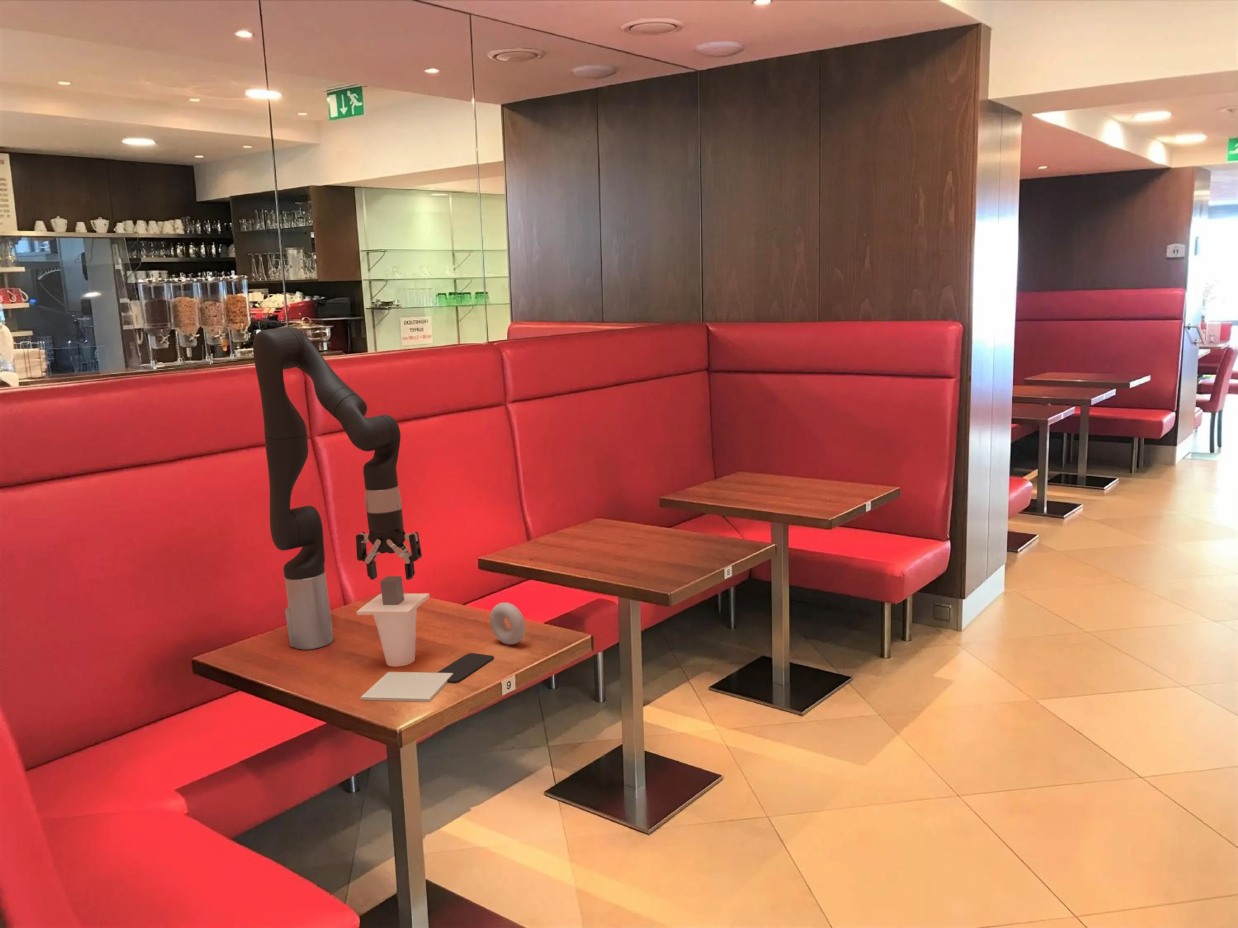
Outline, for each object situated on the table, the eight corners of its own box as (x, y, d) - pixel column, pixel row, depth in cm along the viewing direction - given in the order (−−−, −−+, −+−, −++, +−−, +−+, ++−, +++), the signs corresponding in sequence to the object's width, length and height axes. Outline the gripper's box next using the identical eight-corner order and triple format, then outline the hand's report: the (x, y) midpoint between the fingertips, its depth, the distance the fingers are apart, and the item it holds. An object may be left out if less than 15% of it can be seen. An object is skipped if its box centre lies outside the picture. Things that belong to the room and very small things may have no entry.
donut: (488, 642, 225) (484, 601, 223) (499, 637, 228) (495, 597, 226) (520, 650, 219) (516, 608, 217) (530, 645, 221) (526, 603, 220)
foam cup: (384, 672, 211) (378, 615, 209) (374, 659, 219) (368, 604, 217) (427, 662, 215) (421, 606, 213) (415, 649, 223) (409, 596, 221)
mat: (360, 699, 197) (360, 697, 197) (388, 674, 210) (388, 671, 210) (429, 701, 194) (429, 698, 194) (453, 675, 207) (453, 672, 207)
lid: (356, 614, 210) (353, 587, 209) (380, 596, 222) (377, 570, 221) (408, 614, 208) (405, 586, 207) (429, 596, 220) (426, 570, 218)
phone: (496, 655, 215) (457, 681, 202) (496, 659, 216) (457, 685, 202) (468, 652, 219) (428, 677, 206) (469, 655, 219) (428, 681, 206)
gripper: (345, 511, 209) (354, 583, 212) (407, 511, 206) (415, 584, 209) (361, 503, 216) (369, 573, 219) (421, 502, 213) (428, 573, 216)
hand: (391, 578), depth 214 cm, fingers open, 8 cm apart
